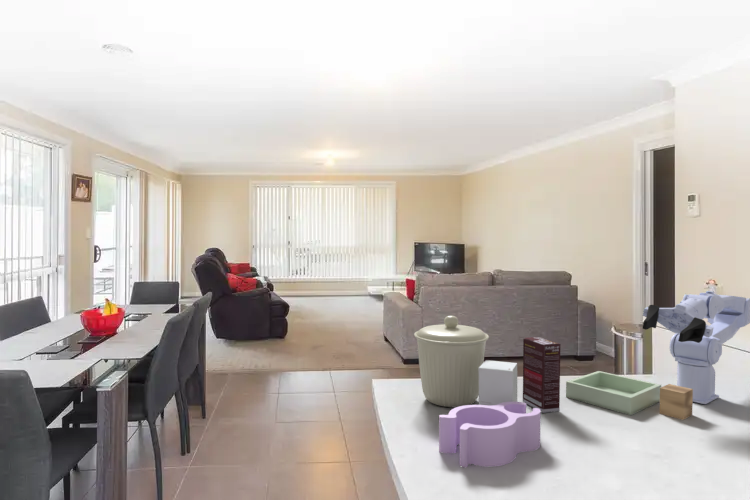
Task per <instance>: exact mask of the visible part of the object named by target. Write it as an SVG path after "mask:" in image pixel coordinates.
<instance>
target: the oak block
mask: <svg viewBox="0 0 750 500" xmlns="http://www.w3.org/2000/svg"><path fill="white" fill-rule="evenodd" d="M659 414H660V415H663V416H666V417H672V418H675V419H678V420H682V421H684V420H686V419H687V418H689V417H691V416H693V389H690V388H685V387H681V386H677V384H676V385H675V384H673V383H672V384H671V383H668V384H666V385H663V386H661V388H660V402H659Z"/></svg>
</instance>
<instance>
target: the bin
mask: <svg viewBox="0 0 750 500" xmlns="http://www.w3.org/2000/svg"><path fill="white" fill-rule="evenodd" d="M661 387H662V384H658V383H655V382H651V381H650V382H649V381H646V380H642V379H636V378H632V377H628V376H624V375H619V374H614V373H609V372H606V371H605V372H604V371H600V370H597V371H595V372H591V373H588V374H585V375H581V376H579V377H576V378H572V379H569V380H567V381H565V398H568V399H571V400H574V401H577V402H582V403H586V404H589V405H592V406H596V407H599V408H604V409H607V410H610V411H614V412H617V413H622V414H624V415H628V416H631V415H634V414H636V413H639V412H641V411H643V410H645V409H647V408H649V407H651V406H654V405H656V404H657V403H660V388H661Z"/></svg>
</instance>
